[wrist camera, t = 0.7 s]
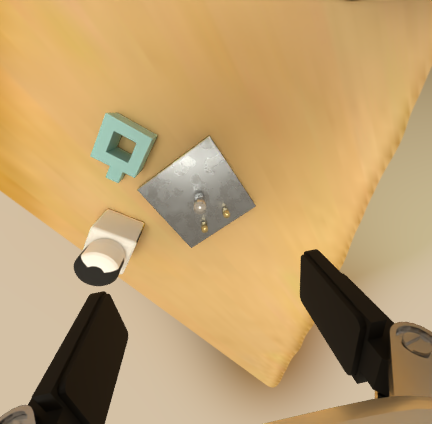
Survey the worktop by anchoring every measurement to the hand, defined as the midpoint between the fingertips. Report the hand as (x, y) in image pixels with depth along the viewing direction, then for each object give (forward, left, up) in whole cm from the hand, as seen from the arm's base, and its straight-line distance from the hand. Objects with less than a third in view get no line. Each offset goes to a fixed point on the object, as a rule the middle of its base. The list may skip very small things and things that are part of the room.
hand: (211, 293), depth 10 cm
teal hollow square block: (-4, -11, -29) cm, 31 cm away
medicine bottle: (+10, -17, -29) cm, 35 cm away
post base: (+6, -1, -29) cm, 30 cm away
